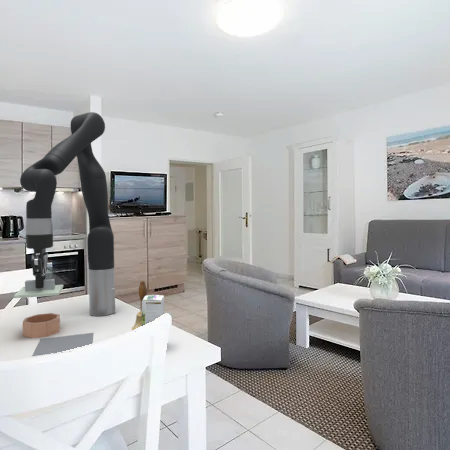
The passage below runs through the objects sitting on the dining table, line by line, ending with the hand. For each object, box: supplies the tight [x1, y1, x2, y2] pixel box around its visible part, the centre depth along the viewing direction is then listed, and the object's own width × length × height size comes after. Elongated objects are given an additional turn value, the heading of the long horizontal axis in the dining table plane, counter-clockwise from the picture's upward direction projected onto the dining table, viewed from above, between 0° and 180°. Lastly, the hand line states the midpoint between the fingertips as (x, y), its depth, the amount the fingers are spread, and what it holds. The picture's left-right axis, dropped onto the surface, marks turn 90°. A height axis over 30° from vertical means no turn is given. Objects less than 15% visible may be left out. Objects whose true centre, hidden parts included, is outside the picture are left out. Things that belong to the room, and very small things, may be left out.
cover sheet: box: [13, 278, 64, 299], centre depth 109 cm, size 12×12×4 cm
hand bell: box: [131, 280, 148, 331], centre depth 112 cm, size 8×8×16 cm
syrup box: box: [142, 294, 165, 326], centre depth 98 cm, size 6×6×14 cm
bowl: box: [22, 312, 61, 339], centre depth 109 cm, size 10×10×5 cm
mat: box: [31, 332, 95, 357], centre depth 100 cm, size 15×13×1 cm
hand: (40, 286), depth 109 cm, fingers closed on cover sheet, 2 cm apart
